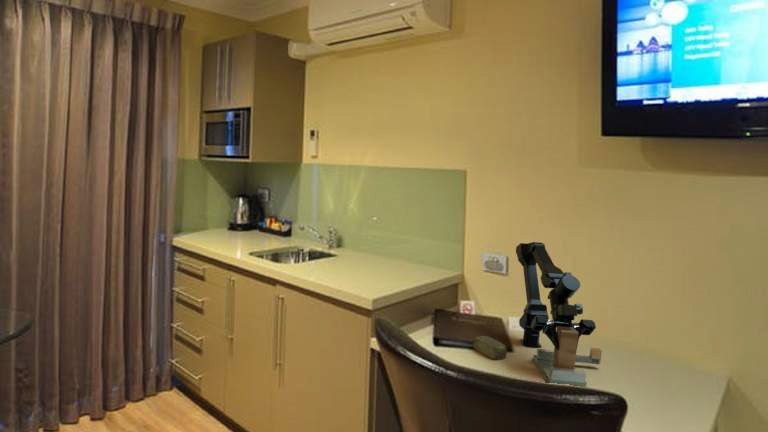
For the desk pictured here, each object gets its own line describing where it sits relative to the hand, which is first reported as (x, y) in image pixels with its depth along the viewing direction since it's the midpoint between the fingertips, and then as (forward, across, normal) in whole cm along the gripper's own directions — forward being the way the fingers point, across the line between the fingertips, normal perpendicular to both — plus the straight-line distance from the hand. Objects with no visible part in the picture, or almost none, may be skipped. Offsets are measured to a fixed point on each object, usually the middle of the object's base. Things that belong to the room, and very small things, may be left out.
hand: (566, 350), depth 152 cm
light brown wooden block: (-3, +5, +14) cm, 15 cm away
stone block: (-5, -20, +19) cm, 28 cm away
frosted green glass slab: (+3, 0, +11) cm, 11 cm away
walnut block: (+4, 0, +6) cm, 7 cm away
